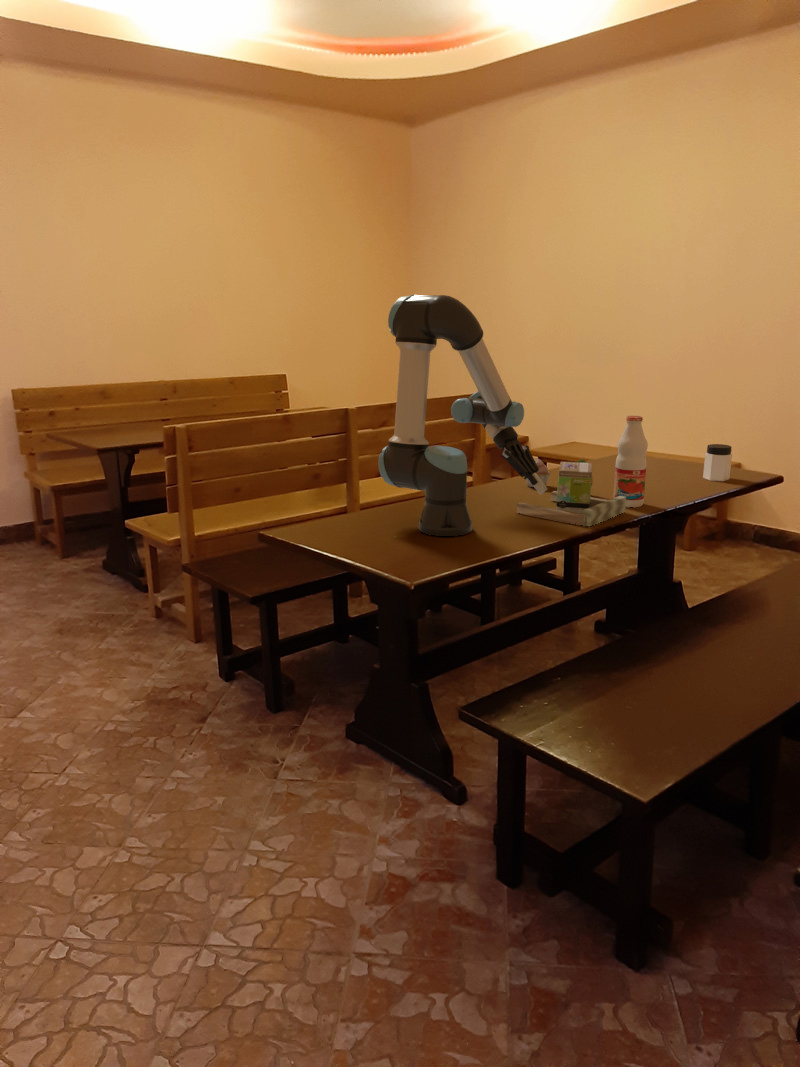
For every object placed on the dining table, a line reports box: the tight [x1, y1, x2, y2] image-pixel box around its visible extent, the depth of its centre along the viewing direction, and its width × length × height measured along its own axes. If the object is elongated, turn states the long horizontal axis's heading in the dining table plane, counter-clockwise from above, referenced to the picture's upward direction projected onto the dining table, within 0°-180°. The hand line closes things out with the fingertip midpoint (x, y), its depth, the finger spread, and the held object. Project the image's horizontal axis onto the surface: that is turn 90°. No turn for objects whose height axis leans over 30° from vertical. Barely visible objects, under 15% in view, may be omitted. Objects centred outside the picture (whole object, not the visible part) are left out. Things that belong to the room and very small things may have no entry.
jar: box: [702, 443, 733, 482], centre depth 298 cm, size 9×8×12 cm
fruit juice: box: [612, 415, 649, 508], centre depth 261 cm, size 9×9×28 cm
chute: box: [516, 490, 627, 527], centre depth 254 cm, size 22×25×5 cm
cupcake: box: [525, 457, 551, 488], centre depth 288 cm, size 9×9×10 cm
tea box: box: [555, 461, 593, 514], centre depth 253 cm, size 15×10×15 cm, turn 167°
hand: (543, 491), depth 260 cm, fingers closed
